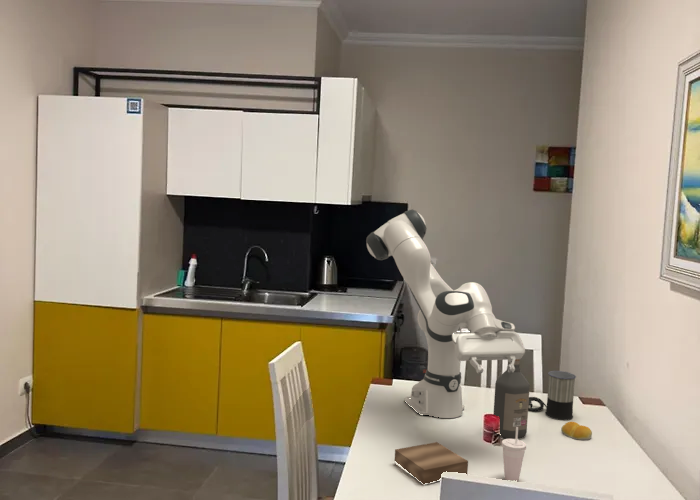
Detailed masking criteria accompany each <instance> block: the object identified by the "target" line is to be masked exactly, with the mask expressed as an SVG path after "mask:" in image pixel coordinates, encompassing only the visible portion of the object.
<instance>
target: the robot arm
mask: <svg viewBox="0 0 700 500" xmlns="http://www.w3.org/2000/svg"><path fill="white" fill-rule="evenodd" d="M426 233H427V224H426V220H425V218H424V216H423V215H422V214H420V213H419V212H417V210H415V209H414V208H413V209H409V210H406V211H404V212H403V213H401V214H399V215H397V216H395V217H393V218H391V219H389V220H387V222H385V223H384V224H383V225H381V226H380V227H379V228H377V229H376V230H374V231H372V232H370V233H369V234H368V235H367V237H366V240H365V242H366V248H367V251H368V252H369V254H370V255H371V256H372V257H374V259H376V260H378V261H383V260H384V261H385V260H387V259H389V257H392V258H393V259H394V262H395V264H396V266H397V269H398V270H399V272H400V274H401V276H402V278H403V280H404V281H405V283H406V284H407V285H408V288H409V291H410V293H411V295H412V297H413V299H414V300H415V302H416V304H417V307H418V308H419V310H418V313H417V317H416V318H417V324H418V326H419V328H420V330H421V331H422V332H424V335H425V338H426V343H427V350H428V351H427V354H428V355H427V369H422V371H423V372H422V373H423V374H424V376H423V379H421V380H420V381H418V382H417V383H416V384H414V385H413V386H412V387H411V392H410V396H407V397H405V398H404V399H403V401H404V400H405V401H406V402H407V403H408V404H409V405H410V406H412V407H413V408H414V409H415V410H416V411H417V412H418V413H420V414H423V415H429V416H428V417H432V416H434V417H433V418H438V417H439V419H453V418H458V417H459V418H460V417H461V416H462V415H463V411H464V410H465V406H464V405H463V391H462V390H463V389H462V385H461V383H462V373H461V362H467V361H468V362H469V364H470V365H471V366H472V367H473V368H474V369H475V371H476V374H483V372H484V366H483V365H482V364H479V362H478V361H507V362H511V363H510V364H509V365H508V364H507V366H506V370H508V372H514V371H515V367H514V362H515V359H520V360H521V359H522V358H523V356H525V353H526V349H525V346H524V343H523V341H522V338H521V337H520V334H518V333H517V332H516V331H515V330H516V326H515V324H514V323H512V322H508V321H503V320H501V319H498V318H496V316H495V315H494V313H493V305H492V304H491V300H490V297H489V295H488V293H487V291H486V290H485V288H484V287H483V286H482V285H481V284H480V283H477V282H476V281H475V282H472V281H471V282H466V283H463V284H461V285H460V286H459V287H458V288H457V289H452V288H451V286H450V285H449V284H447V283H446V281H445V280H443V278H442V277H441V274H439V273H438V271H437V270H436V268H435V267H434V265H433V264H432V258H431V253H430V251H429V248H428V247H427V245H426V243H425V242H424V237H425V236H426ZM464 328H466V329H467V330H462V329H464ZM409 398H411V399H409ZM423 415H422V416H423Z"/></svg>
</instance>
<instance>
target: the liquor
mask: <svg viewBox="0 0 700 500" xmlns="http://www.w3.org/2000/svg"><path fill="white" fill-rule="evenodd" d="M520 361H521V359H515V362H514V367H515V371H514V372H508V370H507V369H506V370H505V371H504V372H503V373H501V374H500V375H499V376H498V377H497V379H496V381H495V384H494V385H495V386H494V399H493V400H494V401H493V402H494V403H493V415H496V416H499V417H500V434H501V436H500V438H502V439H515V437H516V427H518V439H517V440H520V439H524V438H525V437H526V435H527V433H528V431H527V430H528V416H529V410H528V405H529V397H530V389H531V388H530V387H531V386H530V382H529V381H528V378H526V376H525V375H524V374H523V373H522V371H521V368H520V365H521V364H520V363H521V362H520ZM507 362H508V361H507ZM510 363H511V362H508V363H507V366H508V365H509V364H510Z"/></svg>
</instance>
